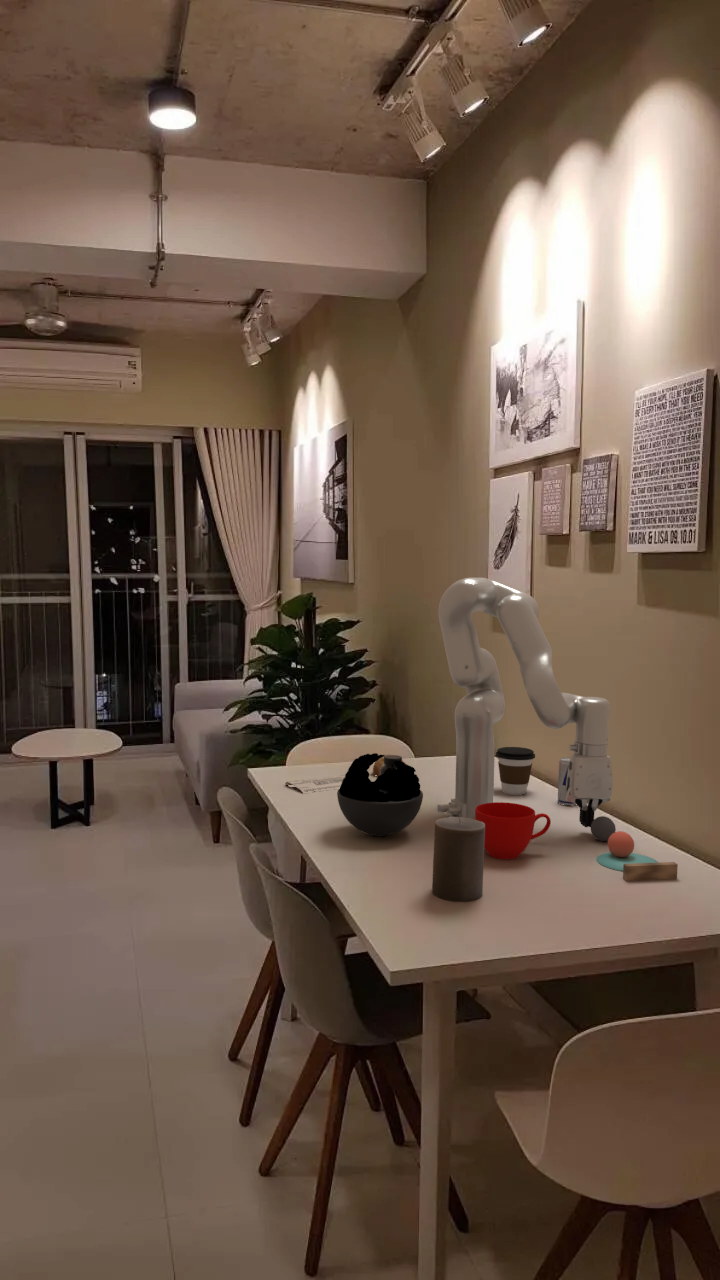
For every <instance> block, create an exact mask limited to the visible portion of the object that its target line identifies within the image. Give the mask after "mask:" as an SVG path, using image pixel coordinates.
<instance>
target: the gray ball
mask: <svg viewBox="0 0 720 1280" xmlns="http://www.w3.org/2000/svg"><path fill="white" fill-rule="evenodd" d="M590 832H591V835H592V837H594V839H596V840H598V841H601V842H606V841H607V842H608V839H609V837H610V836H611V835H612V834H613V833H615V832H617V831H616V824H615V823H614V821H613V820H612V819H611V818H610V817H608V816H604V815H603V816H598V817H596V818H594V820H593V822H592V824H591V827H590Z"/></svg>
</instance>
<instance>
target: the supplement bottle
mask: <svg viewBox="0 0 720 1280" xmlns="http://www.w3.org/2000/svg"><path fill="white" fill-rule="evenodd" d="M386 755H387V754H386ZM395 761H401V762H402V761H403V757H402V756H401V755H397V754H389V755H387V756H385V757H384V764H385V765H384V766H382V767H381V769H380V775H381V774H384V772H385V770H387V769H388V768H390V769H391V770H392V769H397V767H396V766H395V764H394V762H395Z"/></svg>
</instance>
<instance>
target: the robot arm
mask: <svg viewBox="0 0 720 1280" xmlns="http://www.w3.org/2000/svg"><path fill="white" fill-rule="evenodd" d="M476 612H481V613H485V614H487V615H490V616H492V617H495V618H497V620H498V622H499V624H500V626H501V628H502V630H503V632H504V634H505V637H506V639H507V641H508V643H509V645H510V648H511V649H512V651H513V654H514V655H515V658H516V660H517V662H518V665H519V670H520V674H521V678H522V681H523V685H524V688H525V692H526V693H527V696H528V699H529V701H530V703H531V705H532V707H533V709H534V712H535V713H536V715H537V717H538V718H539V720H540V721H541V723H542V724H543V725H545V726H546V727H547V728H549V729H553V730H554V729H555V730H556V729H558V730H559V729H562V728H564V727H565V726H567V725H569V724H575V733H574V734H575V736H574V741H573V743H572V744H569V745H568V749H569V751H572V752H573V753H571V755H570V758H571V759H570V762H569V767H568V772H567V780H566V792H567V795H566V800H567V801H569V802H572V803H576V804H577V805H576V806H577V807H578V808H579V817H578V818H579V823H580V825H581V826H583V827H584V828H591V824H592V822H593V820H594V819H595V812H596V811H597V809H598V807H600V805H601V804H603V803H608V802H610V801H611V797H612V796H613V791H614V790H613V789H614V788H613V787H614V786H613V785H614V783H613V780H614V778H613V765H612V759H611V756H610V755H608V747H609V746H608V744H609V726H610V712H611V711H610V710H611V706H610V705H611V704H610V701H609V700H607V699H606V698H603V697H598V696H582V695H577V694H574V693H573V694H572V693H568V692H561V689H560V687H559V685H558V683H557V680H556V678H555V675H554V672H553V671H554V670H553V664H552V663H553V650H552V649H553V648H552V647H551V645H550V643H549V640H548V639H547V637H546V635H545V632H544V630H543V628H542V625H541V624H540V622H539V619H538V617H539V614H540V608H539V604H538V602H537V601H536V599H535V598H534V597H533V596H531V595H530V594H527V593H525V592H522V591H519V590H517V589H515V588H512V587H509V586H507V585H505V584H502V583H499V582H497V581H495V580H492V579H489V578H487V577H465V578H461V579H459V580H457V581H455V582H454V583H452V584H451V585H450V586H449V587H448V588H447V589H446V590H445V591H444V592H443V595H442V596H441V598H440V601H439V604H438V621H439V625H440V630H441V635H442V639H443V640H442V641H443V645H444V649H445V655H446V658H447V659H446V660H447V663H448V669H449V670H448V671H449V675H450V677H451V679H452V681H453V682H454V684H456V686H459V687H461V688H465V691H466V694H465V695H464V696H463V697H462V698H460V699H459V701H458V702H457V704H456V705H455V706H456V707H455V710H454V726H455V728H454V729H455V737H456V739H455V740H456V741H455V743H456V747H455V748H456V749H455V750H456V751H455V788H454V789H455V791H454V793H455V794H454V797H455V798H450V802H448V803H447V804H446V803H442V804H438V805H437V809H436V810H437V812H438V813H445V812H446V813H447V814H448V817H462V818H469V819H474V820H475V809H476V807H477V806H479V805H481V804H485V803H494V789H495V788H494V785H495V783H494V782H495V757H496V750H495V747H496V745H495V733H494V725H495V724H497V723H498V722H500V721H501V719H502V718H503V717H504V715H505V711H506V699H505V695H504V691H503V686H502V682H501V677H500V673H499V668H498V665H497V661H496V659H495V657H494V656H493V654H492V653H491V652H490V651H488V650H487V649H485V648H483V647H481V645H480V642H479V638H478V631H477V628H476V626H475V623H474V621H473V614H474V613H476Z"/></svg>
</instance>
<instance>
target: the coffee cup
mask: <svg viewBox="0 0 720 1280" xmlns="http://www.w3.org/2000/svg"><path fill="white" fill-rule="evenodd" d="M495 757H497V759H498V764H497V765H498V773H499V778H500V779H499V780H500V782H501V783H500V784H501V789H502V792H503V794H505V793H506V794H505V795H508V794H510V795H509V796H523V795H522V794H524V795H526V793H527V790H528V784H529V782H530V777H531V772H532V767H533V759H535V758H536V754H535V753H534V750H532V749H530V748H526V747H520V746H519V747H518V746H506V747H505V746H504V747H500V748H497V751H495Z"/></svg>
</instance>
